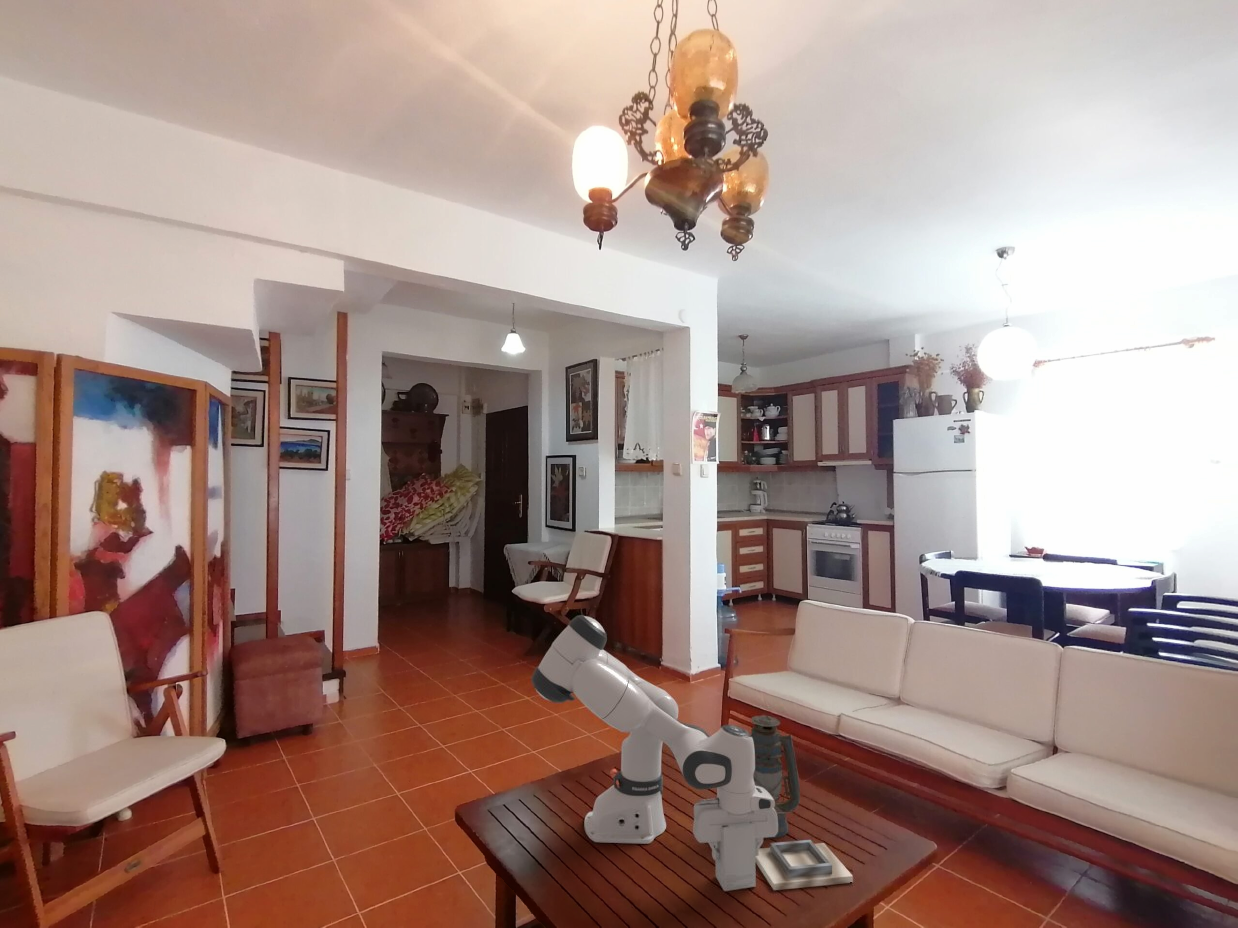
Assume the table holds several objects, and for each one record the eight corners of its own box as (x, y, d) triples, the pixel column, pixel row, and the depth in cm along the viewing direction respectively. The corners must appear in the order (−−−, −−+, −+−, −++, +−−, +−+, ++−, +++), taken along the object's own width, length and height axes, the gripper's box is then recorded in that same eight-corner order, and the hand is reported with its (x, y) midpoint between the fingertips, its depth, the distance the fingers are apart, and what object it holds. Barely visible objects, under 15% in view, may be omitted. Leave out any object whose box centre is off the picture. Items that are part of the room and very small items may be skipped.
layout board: (773, 890, 146) (773, 874, 146) (750, 855, 160) (751, 841, 160) (852, 882, 149) (852, 867, 150) (823, 848, 163) (823, 834, 163)
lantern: (792, 813, 180) (793, 708, 181) (808, 842, 166) (809, 727, 167) (725, 813, 180) (726, 707, 181) (735, 841, 166) (736, 726, 167)
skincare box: (746, 872, 152) (746, 810, 153) (756, 888, 146) (757, 823, 147) (713, 876, 151) (714, 813, 151) (722, 892, 145) (723, 827, 145)
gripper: (697, 806, 144) (697, 868, 144) (781, 800, 148) (780, 860, 147) (689, 793, 150) (689, 852, 150) (770, 787, 154) (769, 845, 153)
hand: (735, 856), depth 149 cm, fingers closed on skincare box, 8 cm apart
